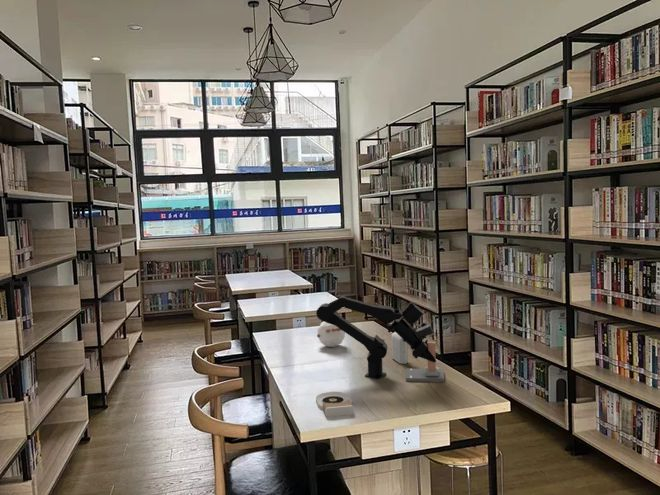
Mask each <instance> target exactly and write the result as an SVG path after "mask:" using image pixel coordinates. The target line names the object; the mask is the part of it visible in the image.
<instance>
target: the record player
mask: <svg viewBox="0 0 660 495" xmlns="http://www.w3.org/2000/svg"><path fill="white" fill-rule="evenodd" d="M315 403H316V405H317V407H318V409H320V410H322V411H323V413H324V415H325V417H328V418H329V417H331V418H332V417H338V416H339V417H340V416H348V415H349V416H350V415H351V416H352V415H354V414H355V408H354V405H353V401H352V399H351V397H350V395H349V394H348V393H345V392H341V391H327V392H326V391H325V392H322V393H319V394H318V395H316V397H315Z"/></svg>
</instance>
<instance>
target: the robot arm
mask: <svg viewBox="0 0 660 495" xmlns="http://www.w3.org/2000/svg"><path fill="white" fill-rule="evenodd" d="M343 308H344V309H348V310H350V311H354V312H358V313H362V314H366V315H368V316H371V317H373V318H374V319H376V320H378V321H380V322H382V323H384V324H387V333H389V334H390V333H391V332H392V331H394V332H396V333H397V334H398V335H399V336H400V337H401V338H402V339H403V341H404V342H406V343H407V344H408V347H409V348H410V349H411V352H412V353H411V354H412V357H413V358H415V359H418V358H422V359H424V360H426V361H428V360H429V361H432V362H436V363H437V358H436V359H435V358H434V356H433V355H432V354H431V352H430V351H429V350H428V344H427V342H429V341H428V339H427V336H432V334H434V329H433V328H432V326H431V324H430V323H426V322H422V323H421V324H420V325H421V326H420V327H419V328H417V329H416V328H415V327H412V326H411V324H413V325H415V324H416V323H417V322H418V321H419V320H420V319H421V318H422V317H423V316H424V315H425V312H424V311H423V310H422V309H421V308H420V307H419V306H417V305H416V304H415V303H413V302H412V301H411V302H409V304H407V306H406V307H405V308H404V309H402V310H401V309H397V308H396V309H394V307H392V306H391V305H390V306H389V305H379V304H378V305H376V304H371V303H367V302H364V301H361V300H359V299H358V300H357V299H354V298H350V297H348V296H346V295H342V296H341V295H340V297H338V298H337V299H335V300H333V301H331V302H329V303H327V302H326V303H323V304H321V305H320V306H318V308H317V309H316V313H315V315H316V318H317V319H318V320H320V321H322V322H326V323H329V324H333V325H335V326H337V327H338V328H340V329H341V330H342V331H344V332H345V334H347V335H348V336H350V337H351V338H353V339H354V340H356V341H357V342H359V343H360V344H361V345H363V346H364V347H365V349H366V350H367V351H368V353H367V356H366V361H367V373H366V374H364V377H367V378H372V379H381V378H383V377H385V376H386V375H387V373H386V372H384V371H383V370H384V368H383V359H384V358H385V357H386V356H387V353H388V344H387V343H386V342H385V339H383V338H381V337H380V336H379V335H378V334H376V335H375V336H372V335H369V334H368V333H366V332H364V331H363V330H361V329H360V328H358V327H357V326H356V325H354V323H352V322H350V321H349V320H347V319H345V318H344V317H343V316H341V314H340V313H338V311H339V310H341V309H343ZM424 339H426V340H425V341H424Z"/></svg>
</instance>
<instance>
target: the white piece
mask: <svg viewBox="0 0 660 495" xmlns="http://www.w3.org/2000/svg"><path fill="white" fill-rule="evenodd" d="M316 337H317V338H318V340H319V341H320V344H323V345H324V346H325V347H327V348H336V347H338V346H340V345H342V343H343V341H344V339H345V337H346V333H345V332H344V331H342V330H341V329H340V328H338V327H337V326H335V325H333V324H329V323H326V322H324V321H322V322H321V323H320V324H319V325H318V328H317V334H316Z"/></svg>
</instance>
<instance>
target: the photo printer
mask: <svg viewBox="0 0 660 495" xmlns="http://www.w3.org/2000/svg"><path fill="white" fill-rule="evenodd" d="M390 340H391V343H390V344H391V359H392V360H395V361H396V362H397V363H399V364H401V365H406V364H407V363H409V345H408V344H407V343H406V342H404V341H403V339H402V338H401V337H400V336H399V335H398V334H397V333H396V332H395V331H394V332H393V333H391V339H390Z"/></svg>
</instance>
